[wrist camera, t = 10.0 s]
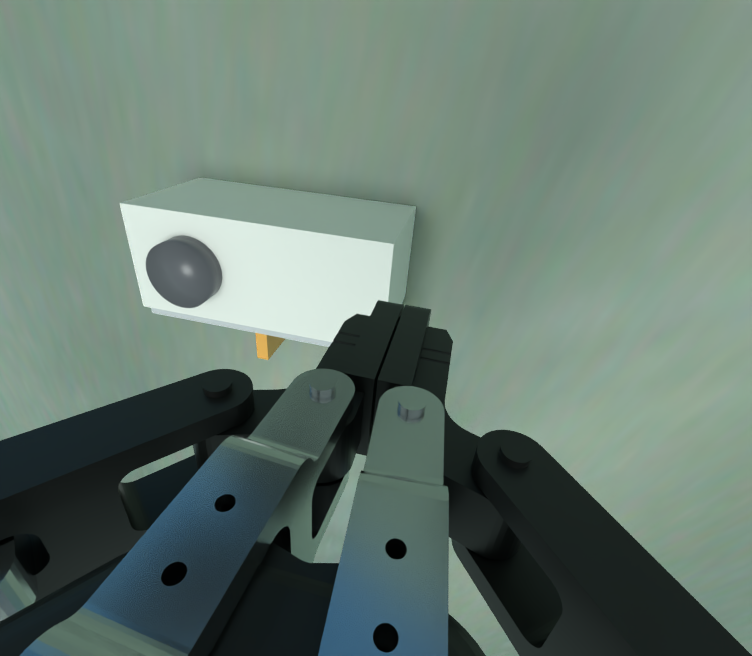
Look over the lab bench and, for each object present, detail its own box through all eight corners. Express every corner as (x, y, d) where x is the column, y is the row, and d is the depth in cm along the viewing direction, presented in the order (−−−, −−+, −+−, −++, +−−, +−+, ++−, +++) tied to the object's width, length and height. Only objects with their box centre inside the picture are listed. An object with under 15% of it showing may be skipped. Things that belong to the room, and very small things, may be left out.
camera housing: (200, 177, 46) (101, 208, 34) (416, 206, 43) (388, 252, 31) (212, 271, 52) (131, 326, 40) (404, 304, 48) (376, 376, 36)
